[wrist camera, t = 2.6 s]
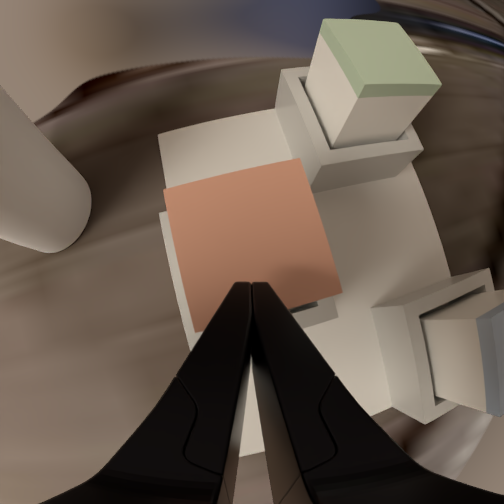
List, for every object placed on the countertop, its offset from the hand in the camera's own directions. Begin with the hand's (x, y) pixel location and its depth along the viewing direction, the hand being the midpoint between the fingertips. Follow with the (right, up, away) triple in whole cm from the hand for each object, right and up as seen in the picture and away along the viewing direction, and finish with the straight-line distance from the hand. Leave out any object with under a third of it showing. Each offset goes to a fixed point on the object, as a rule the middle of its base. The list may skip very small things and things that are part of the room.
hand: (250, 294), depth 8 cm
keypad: (+4, +1, +11) cm, 12 cm away
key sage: (+6, +9, +10) cm, 15 cm away
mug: (-15, +5, +12) cm, 20 cm away
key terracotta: (0, 0, +8) cm, 8 cm away
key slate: (+12, -4, +7) cm, 14 cm away
